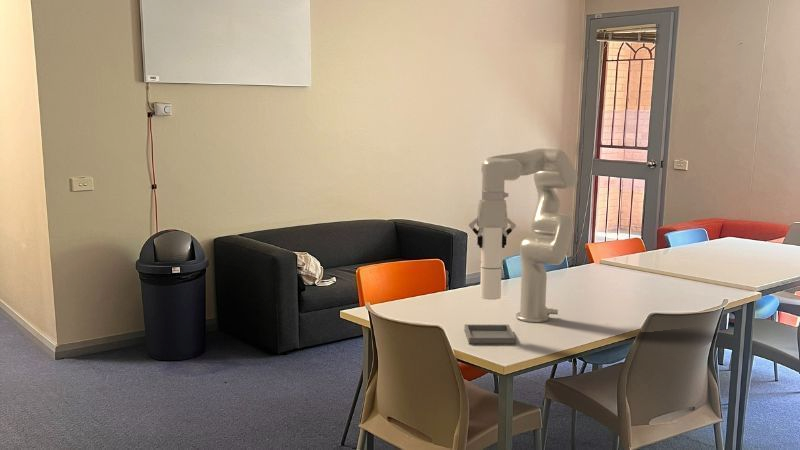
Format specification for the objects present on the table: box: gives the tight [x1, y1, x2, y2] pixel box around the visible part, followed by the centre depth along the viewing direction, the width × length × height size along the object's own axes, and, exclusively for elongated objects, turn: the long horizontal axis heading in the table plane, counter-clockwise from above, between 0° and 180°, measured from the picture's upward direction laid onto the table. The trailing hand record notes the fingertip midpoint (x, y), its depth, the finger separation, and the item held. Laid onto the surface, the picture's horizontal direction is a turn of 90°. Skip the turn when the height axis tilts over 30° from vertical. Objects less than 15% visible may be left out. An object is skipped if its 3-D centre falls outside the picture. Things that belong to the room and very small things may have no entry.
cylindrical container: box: [479, 227, 503, 301], centre depth 259 cm, size 7×7×25 cm
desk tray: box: [464, 323, 517, 346], centre depth 263 cm, size 16×16×2 cm
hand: (491, 246), depth 259 cm, fingers closed on cylindrical container, 7 cm apart
